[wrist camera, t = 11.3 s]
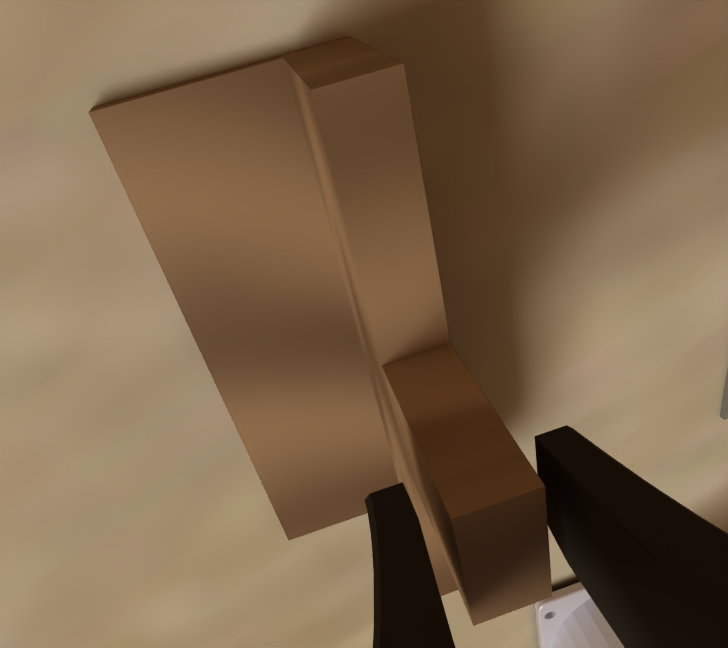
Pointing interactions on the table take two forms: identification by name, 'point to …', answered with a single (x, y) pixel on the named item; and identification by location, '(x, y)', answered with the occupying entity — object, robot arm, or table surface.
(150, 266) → the table surface
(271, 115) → the walnut scraper
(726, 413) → the charcoal mat
